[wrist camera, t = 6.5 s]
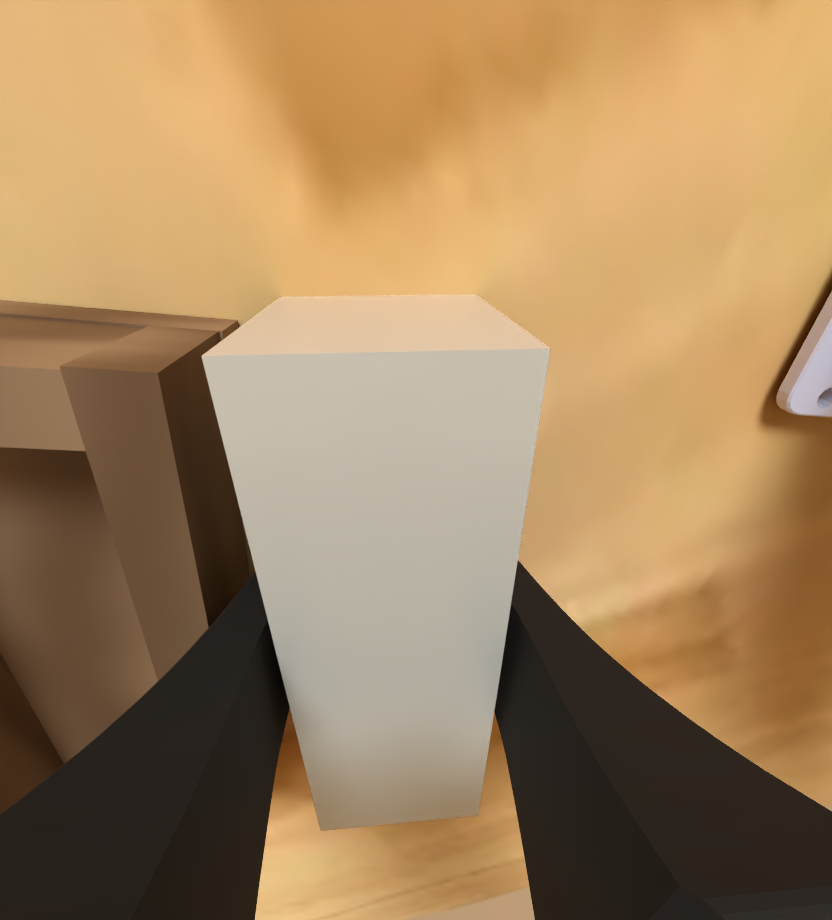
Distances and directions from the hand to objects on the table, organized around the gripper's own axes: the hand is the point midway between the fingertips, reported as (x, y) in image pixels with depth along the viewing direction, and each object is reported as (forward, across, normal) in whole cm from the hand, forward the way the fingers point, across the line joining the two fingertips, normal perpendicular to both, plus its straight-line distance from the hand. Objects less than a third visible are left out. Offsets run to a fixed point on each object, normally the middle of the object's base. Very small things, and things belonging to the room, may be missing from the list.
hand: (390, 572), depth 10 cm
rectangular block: (+2, 0, 0) cm, 2 cm away
